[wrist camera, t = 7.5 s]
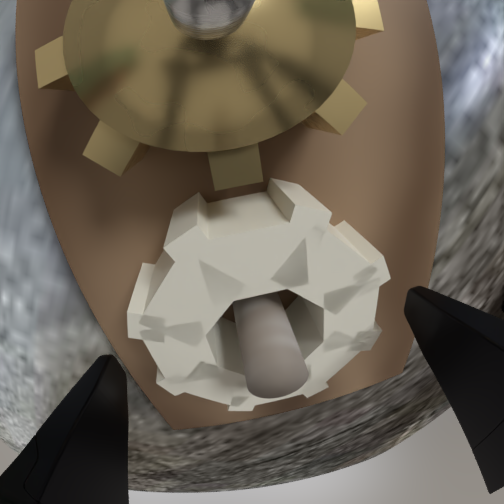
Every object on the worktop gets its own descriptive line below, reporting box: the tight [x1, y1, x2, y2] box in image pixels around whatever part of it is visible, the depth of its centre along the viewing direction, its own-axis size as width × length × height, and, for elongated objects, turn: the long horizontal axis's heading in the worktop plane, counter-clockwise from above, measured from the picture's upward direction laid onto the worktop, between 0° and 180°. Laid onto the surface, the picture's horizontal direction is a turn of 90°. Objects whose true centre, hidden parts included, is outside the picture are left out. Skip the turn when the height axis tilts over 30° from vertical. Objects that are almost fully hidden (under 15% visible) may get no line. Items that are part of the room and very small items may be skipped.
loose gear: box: [127, 178, 391, 411], centre depth 9 cm, size 7×7×2 cm
